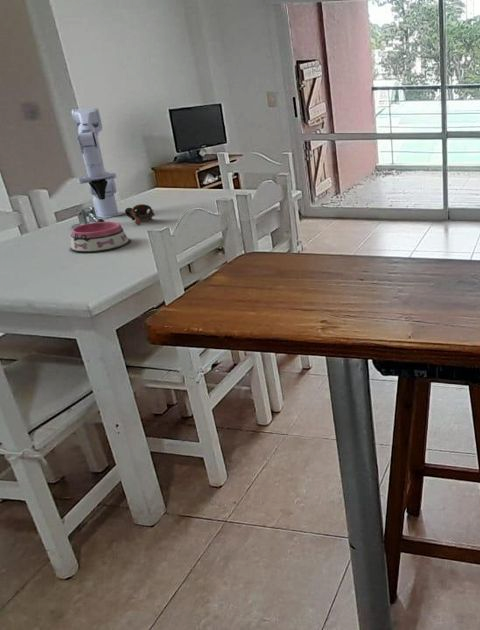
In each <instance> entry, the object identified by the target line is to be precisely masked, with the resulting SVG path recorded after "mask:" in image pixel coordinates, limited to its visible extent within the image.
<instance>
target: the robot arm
mask: <svg viewBox="0 0 480 630" xmlns="http://www.w3.org/2000/svg"><path fill="white" fill-rule="evenodd" d="M71 116H72V120H73V123H74V125H75V128H76V130H77V132H78V134H76V141H77V144H78V147H79V149H80V153H81V154H82V157H83V162H84V166H85V169H86V173H87V176H83V177H79V178H76V182H77V184H78V185H83V184H87V185H88V189H89V193H90V195H92V196H93V198H92V204H93V207H94V209H95V213H96V217H97V218H101V219H108V218H109V219H110V218H113V217H118V216H122V215H124V213H123V212H119V209H118V204H117V200H116V197H115V194H116V193H117V192H118V191H117V186H116V181H115V179H117V174H116V172H108V171H107V170H105V165H104V159H103V156H102V151H101V145H100V140H99V133H100V132H101V131H103V124H102V117H101V114H100V110H99V109H98V107H95V108H79V109H75V108H73V109H72V110H71Z"/></svg>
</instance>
